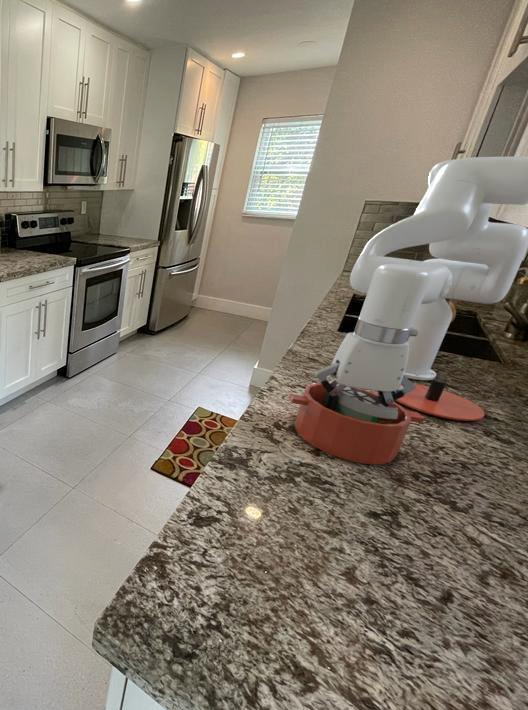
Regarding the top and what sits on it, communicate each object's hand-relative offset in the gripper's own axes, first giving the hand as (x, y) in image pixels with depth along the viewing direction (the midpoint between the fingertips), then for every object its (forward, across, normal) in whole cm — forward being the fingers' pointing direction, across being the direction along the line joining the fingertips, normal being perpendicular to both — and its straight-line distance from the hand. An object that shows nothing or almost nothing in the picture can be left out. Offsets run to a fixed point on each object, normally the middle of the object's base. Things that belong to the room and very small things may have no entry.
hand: (351, 413), depth 82 cm
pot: (+6, 0, 0) cm, 6 cm away
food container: (+5, 0, 0) cm, 5 cm away
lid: (+5, -27, -25) cm, 37 cm away
